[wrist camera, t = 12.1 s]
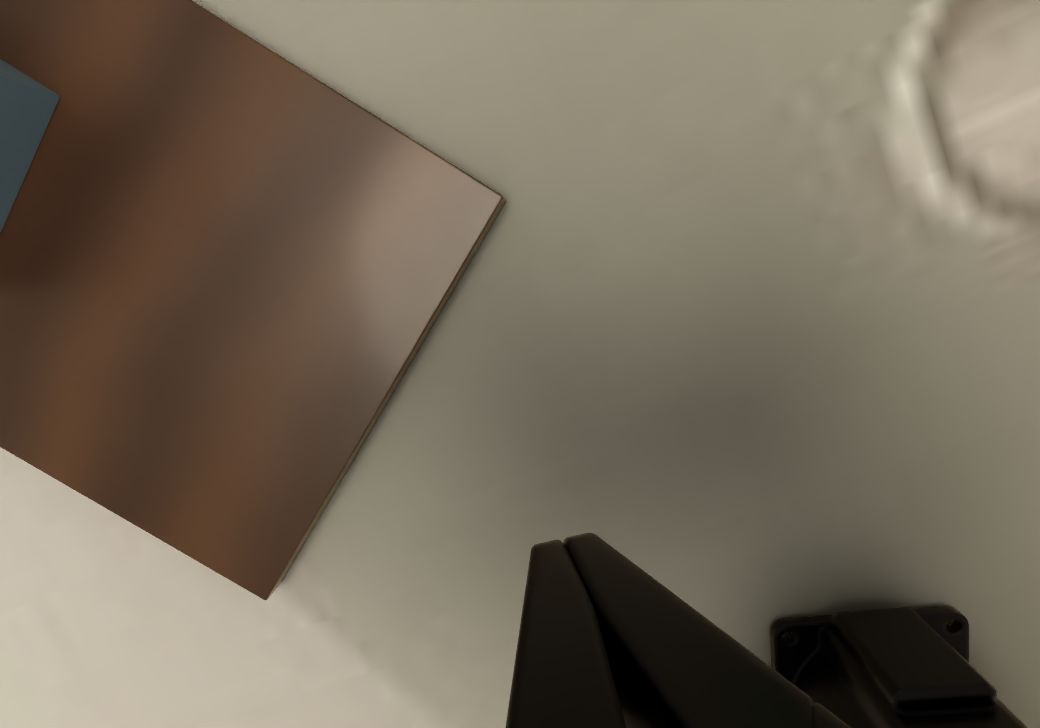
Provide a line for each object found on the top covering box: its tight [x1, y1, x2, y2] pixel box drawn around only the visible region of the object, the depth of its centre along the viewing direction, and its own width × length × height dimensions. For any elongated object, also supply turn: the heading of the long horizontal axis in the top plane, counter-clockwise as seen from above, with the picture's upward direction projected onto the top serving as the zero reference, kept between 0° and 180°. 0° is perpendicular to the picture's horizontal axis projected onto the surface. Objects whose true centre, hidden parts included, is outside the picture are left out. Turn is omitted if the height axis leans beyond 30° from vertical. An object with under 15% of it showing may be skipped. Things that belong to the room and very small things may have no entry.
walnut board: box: [0, 0, 506, 600], centre depth 20 cm, size 22×16×1 cm
